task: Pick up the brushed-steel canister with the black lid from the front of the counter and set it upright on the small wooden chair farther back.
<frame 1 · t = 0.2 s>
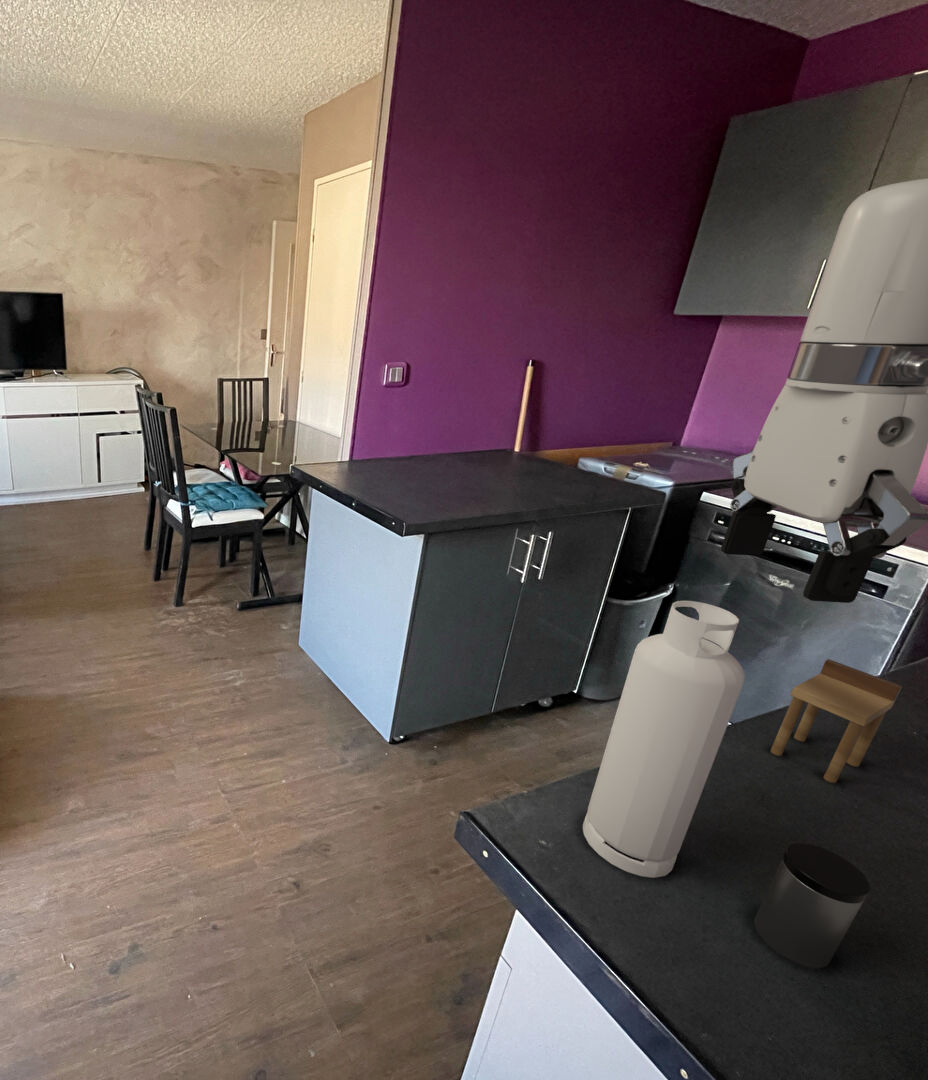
hand: (779, 574, 50), 32 cm above the countertop, tool pointing down, fingers open, 9 cm apart
canister: (790, 940, 53), on the countertop
bottle: (625, 846, 62), on the countertop
small wooden chair: (813, 759, 74), on the countertop
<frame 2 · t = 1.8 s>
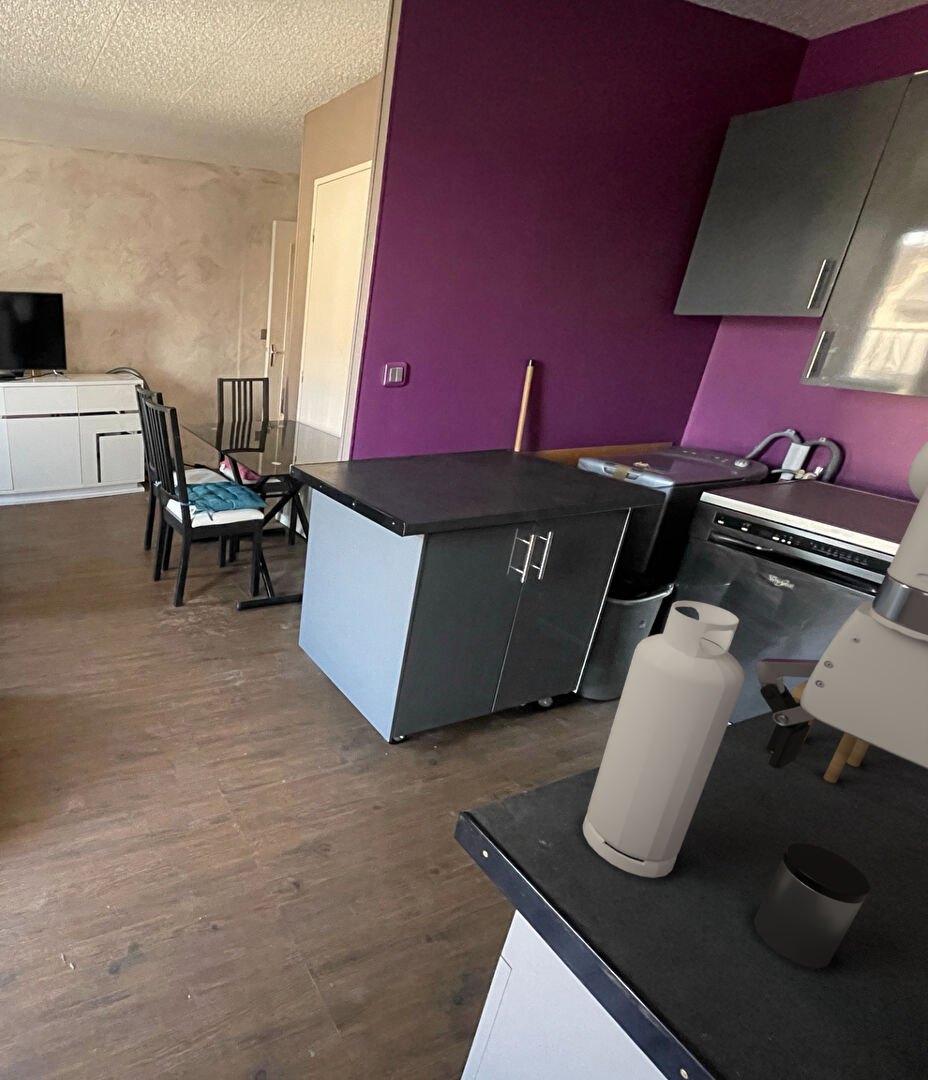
hand: (856, 801, 47), 16 cm above the countertop, tool pointing down, fingers open, 9 cm apart
nothing on the countertop moved.
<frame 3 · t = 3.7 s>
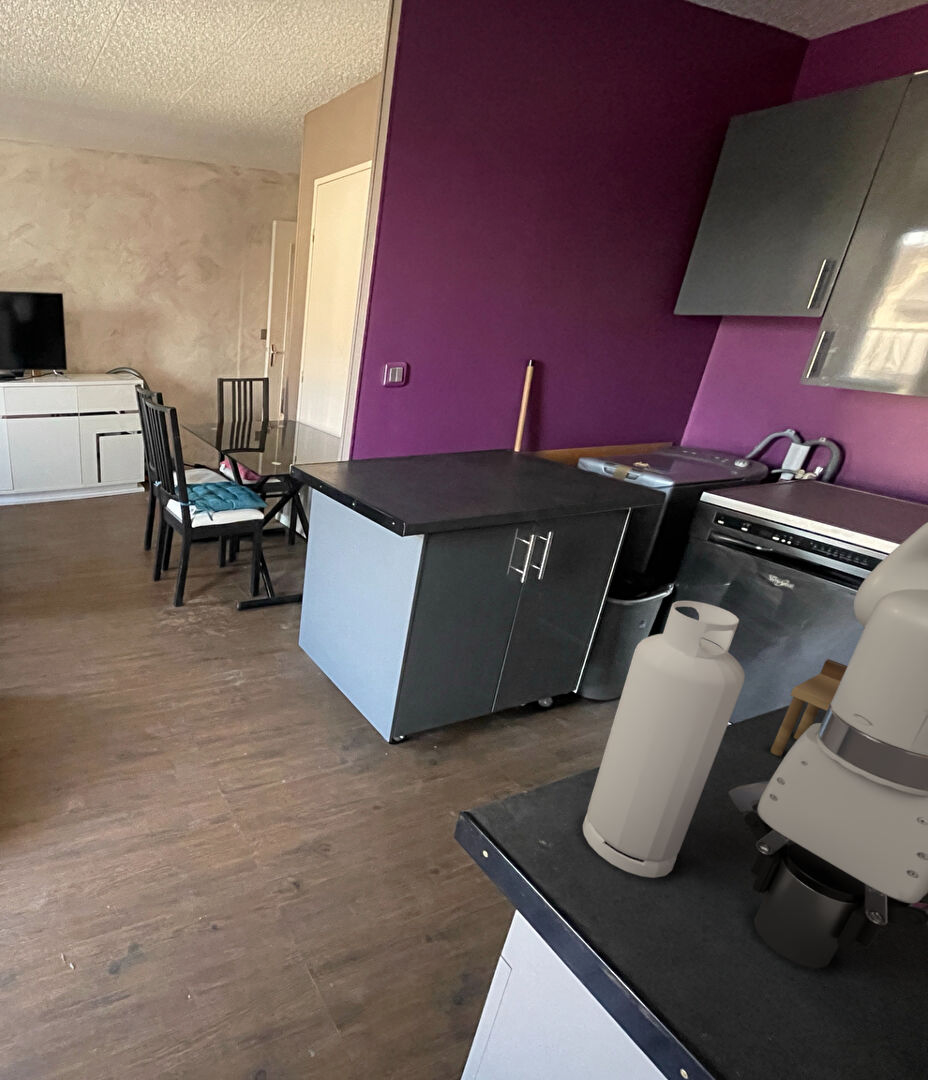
hand: (805, 910, 51), 4 cm above the countertop, tool pointing down, fingers closed on canister, 5 cm apart
canister: (790, 940, 53), on the countertop, touching gripper
everything else where it was.
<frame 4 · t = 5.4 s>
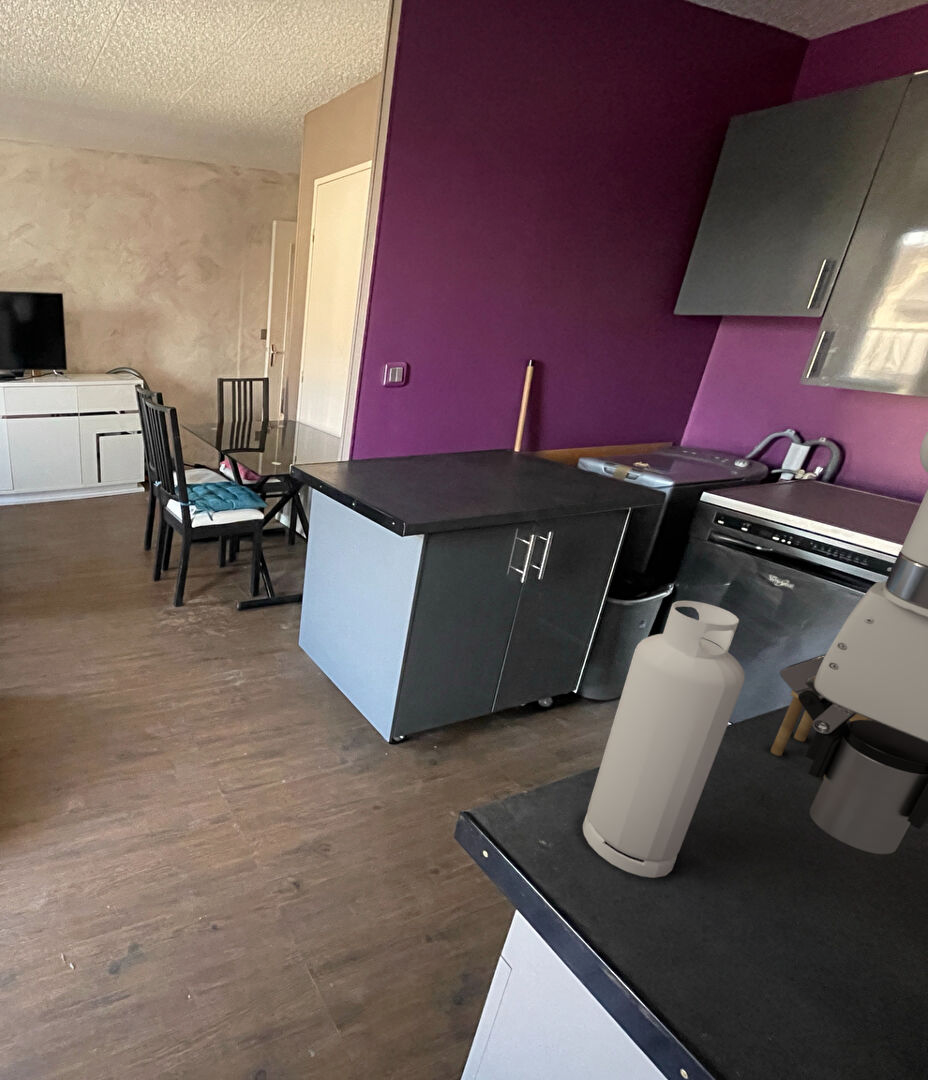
hand: (869, 792, 47), 17 cm above the countertop, tool pointing down, fingers closed on canister, 5 cm apart
canister: (851, 828, 48), point 13 cm above the countertop, touching gripper
everything else where it was.
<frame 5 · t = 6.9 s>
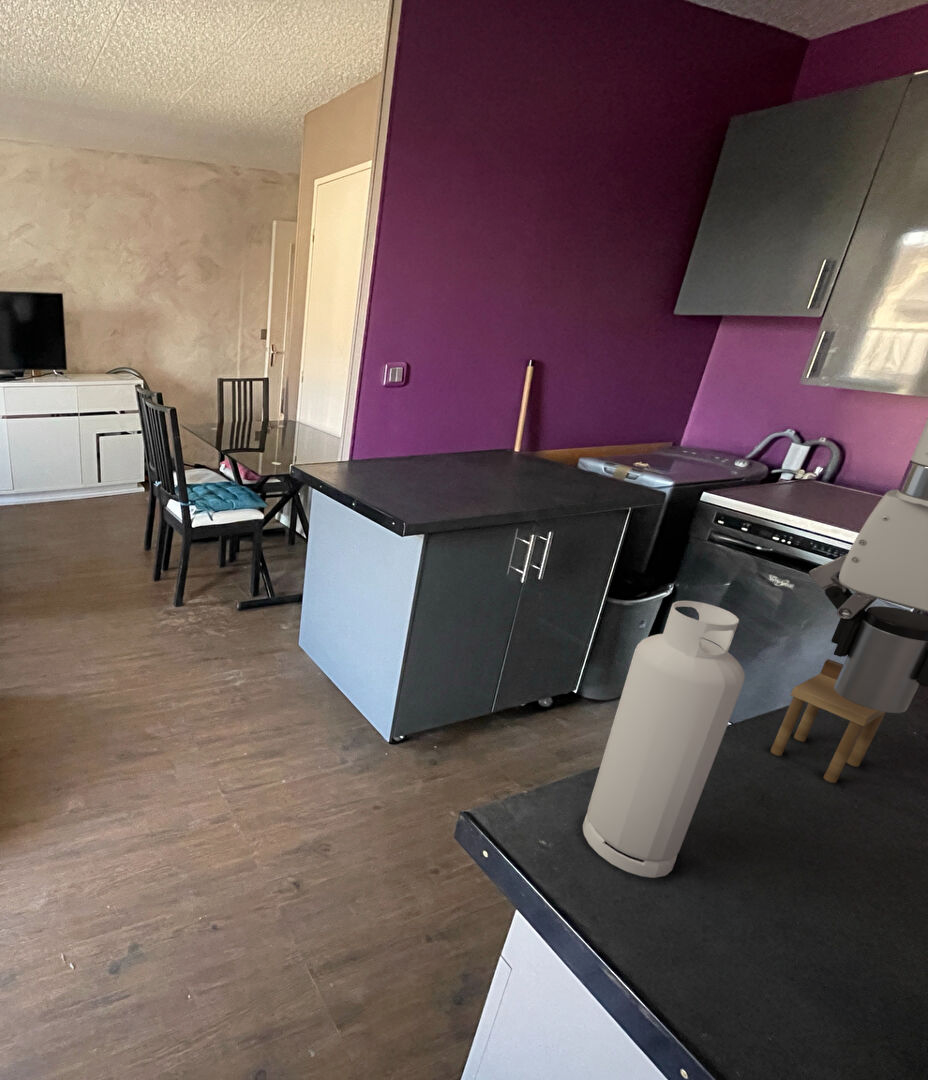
hand: (884, 664, 57), 21 cm above the countertop, tool pointing down, fingers closed on canister, 5 cm apart
canister: (869, 697, 58), point 17 cm above the countertop, touching gripper
everything else where it was.
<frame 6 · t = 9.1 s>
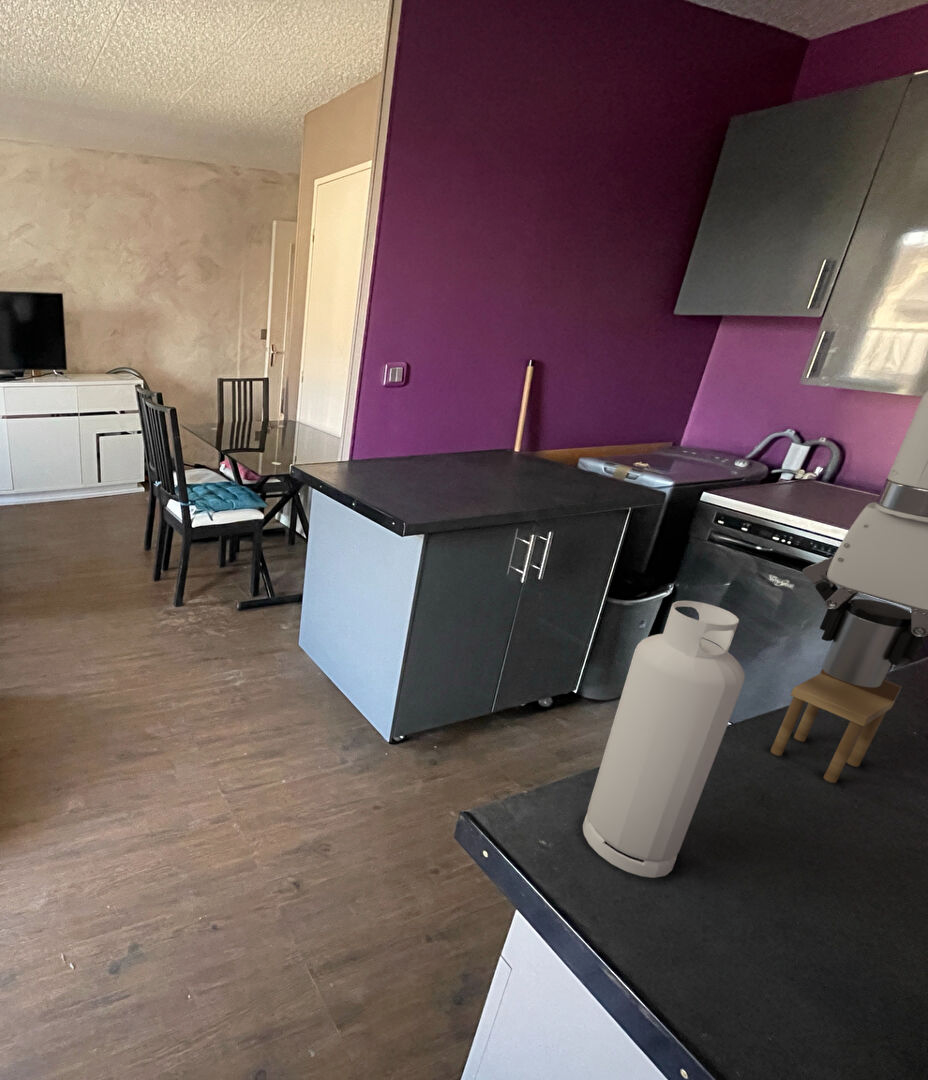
hand: (863, 648, 68), 16 cm above the countertop, tool pointing down, fingers closed on canister, 5 cm apart
canister: (850, 675, 70), point 13 cm above the countertop, touching gripper
everything else where it was.
when the fingers open (14 cm above the countertop, at t = 10.3 s): canister stays where it is, resting on small wooden chair.
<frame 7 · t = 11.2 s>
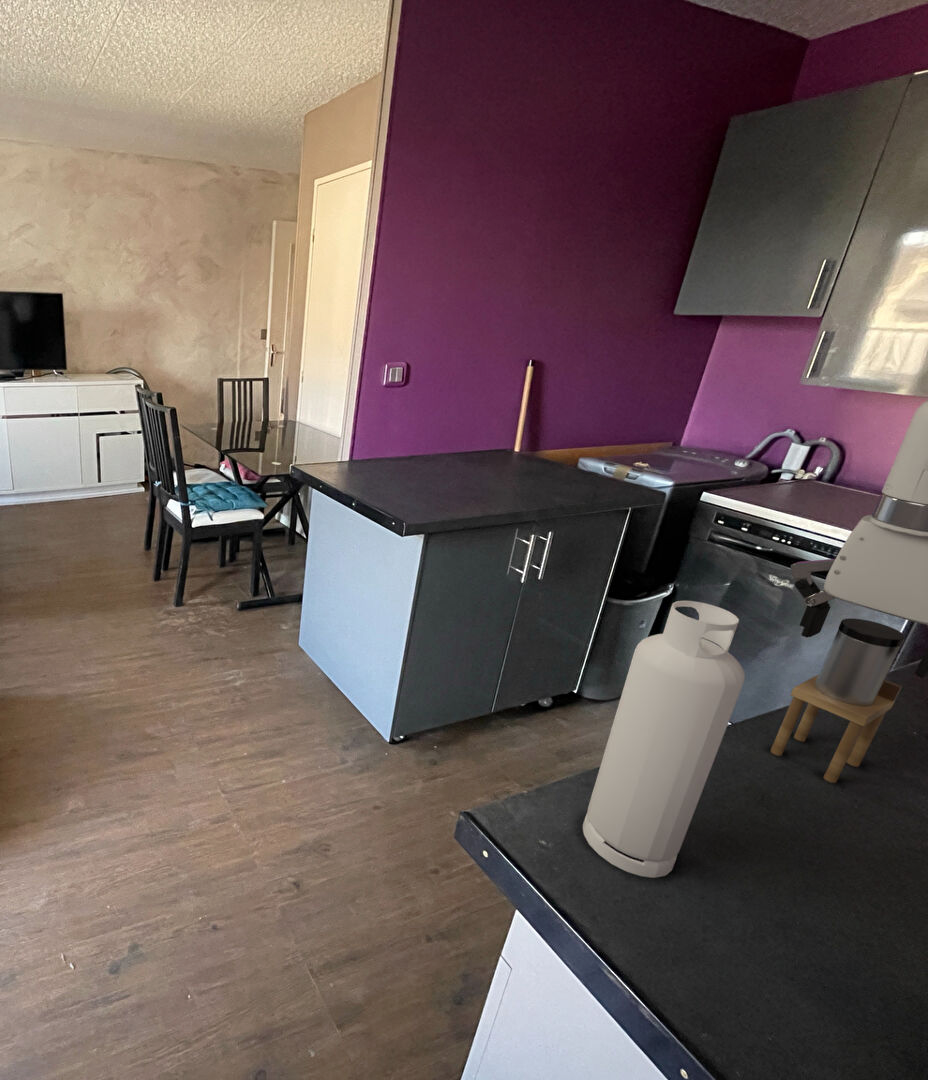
hand: (863, 652, 68), 16 cm above the countertop, tool pointing down, fingers open, 9 cm apart
canister: (842, 693, 71), point 10 cm above the countertop, touching small wooden chair
everything else where it was.
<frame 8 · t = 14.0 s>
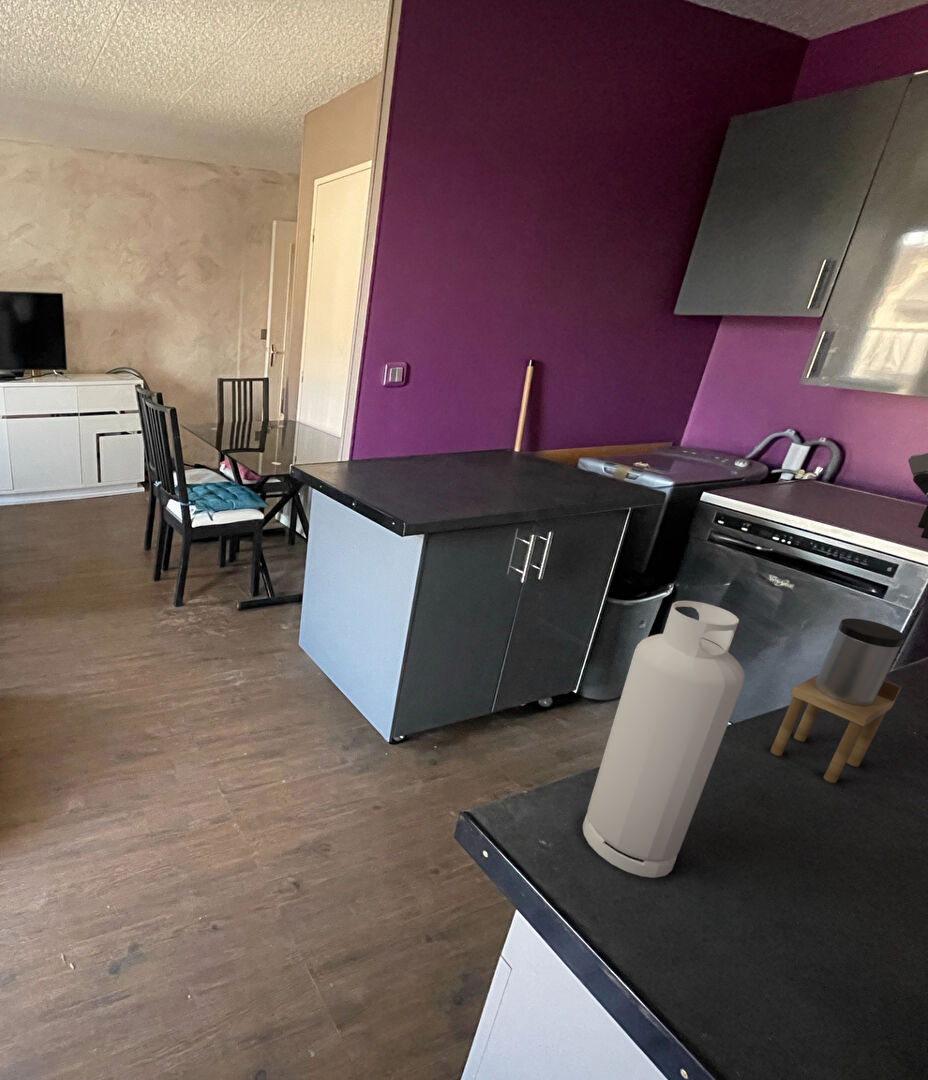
nothing on the countertop moved.
at the end: canister 0.1 cm off-centre on the small wooden chair, point 10.0 cm above the small wooden chair's base; canister tilted 0° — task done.
